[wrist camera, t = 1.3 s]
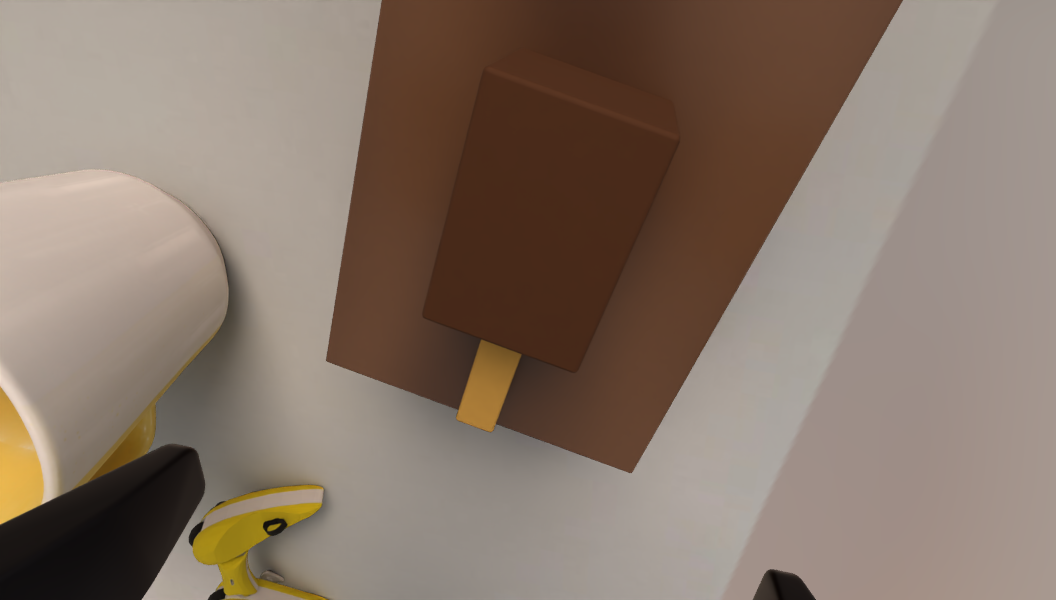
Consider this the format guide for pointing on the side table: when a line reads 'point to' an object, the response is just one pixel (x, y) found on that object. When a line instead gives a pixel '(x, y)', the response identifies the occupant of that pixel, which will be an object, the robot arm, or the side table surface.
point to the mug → (94, 324)
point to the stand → (672, 222)
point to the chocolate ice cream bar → (543, 216)
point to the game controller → (252, 539)
